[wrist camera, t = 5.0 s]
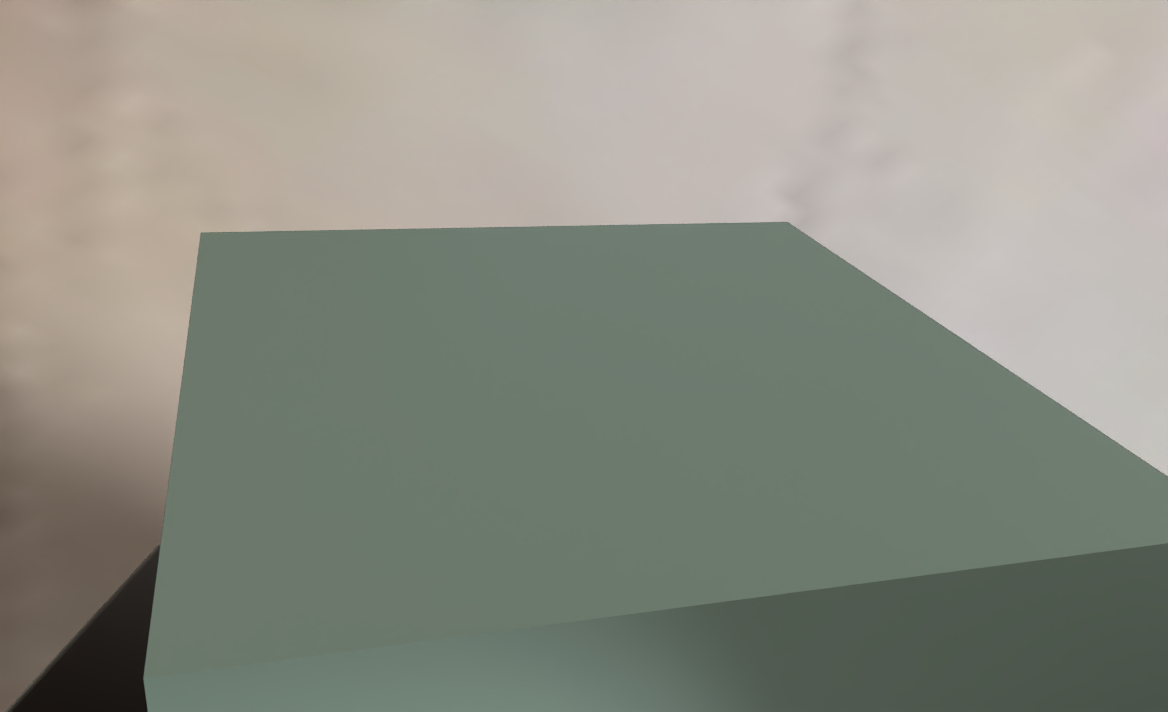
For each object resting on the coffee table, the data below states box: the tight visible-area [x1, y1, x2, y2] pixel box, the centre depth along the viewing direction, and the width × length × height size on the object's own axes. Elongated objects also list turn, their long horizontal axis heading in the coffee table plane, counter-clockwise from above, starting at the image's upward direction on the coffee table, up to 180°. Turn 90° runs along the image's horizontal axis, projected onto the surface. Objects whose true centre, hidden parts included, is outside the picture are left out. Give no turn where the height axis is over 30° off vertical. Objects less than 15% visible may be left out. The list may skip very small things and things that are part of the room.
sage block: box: [143, 222, 1168, 712], centre depth 8 cm, size 5×5×5 cm
